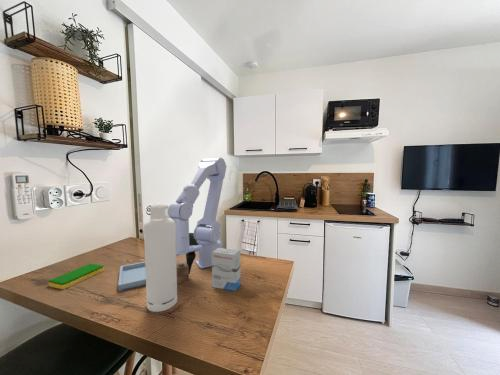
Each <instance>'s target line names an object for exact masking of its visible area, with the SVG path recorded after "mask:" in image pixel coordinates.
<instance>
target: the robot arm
mask: <svg viewBox="0 0 500 375" xmlns="http://www.w3.org/2000/svg"><path fill="white" fill-rule="evenodd" d="M227 167H228V166H227V164H226V161H225V159H224V158H223V157H216V158H215V157H212V158H202V159H200V161H199V163H198V170H197V171H196V174H195V175H194V177H193V179H192V181H191V183H190V184H189V185H188V184H187V185H186V186H184V187H183V189H182V191H181V192H180V195H179V196H178V197H177V198H176V201H174V202H172V203H171V204H170V205H168V215H169V218H171V219H172V220H174V222H175V233H176V257H177V256H183V255H185V259H186V261H185V262H186V263H187V265H188V267H189V275H190V274H191V269H192V266H193V263H194V261H195V263H196V264H197V266H198V267H199V269H205V268H210V267H211V268H212V253H211V252H213V251H214V250H216V249H217V248H223V244H222V242H221V240H220V238H221V224H220V223H219V222H218V220H217V216H218V215H217V214H218V209H219V206H220V201H221V200H220V199H221V193H222V190H223V183H224V180H225V177H226V172H227ZM206 180H209V187H208V193H207V197H206V201H205V205H204V206H205V207H204V212H203V215H202V218H200V219H199V220H198V221H197V222H196V226H195V227H194V230H193V238H194V239H195V241H196V243H197V245H196V244H195V245H194V244H193V245H190V224H189V223H190V218H191V217H192V215H193V209H194V204H195V202H196V200H197V199H198V198H199V195H200V188H201V187H202V185H203V184H204V183H205V181H206ZM196 252H197V253H198V259H196V256H197V254H196ZM195 259H196V260H195Z"/></svg>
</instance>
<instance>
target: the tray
mask: <svg viewBox="0 0 500 375" xmlns="http://www.w3.org/2000/svg"><path fill="white" fill-rule="evenodd" d="M118 276H119V277H118V282H117V290H118V292H122V291H127V290H131V289H135V288H139V287H144V286H146V270H145V261H140V262H135V263H131V264H125V265H121V266H120V267H119V275H118Z"/></svg>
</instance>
